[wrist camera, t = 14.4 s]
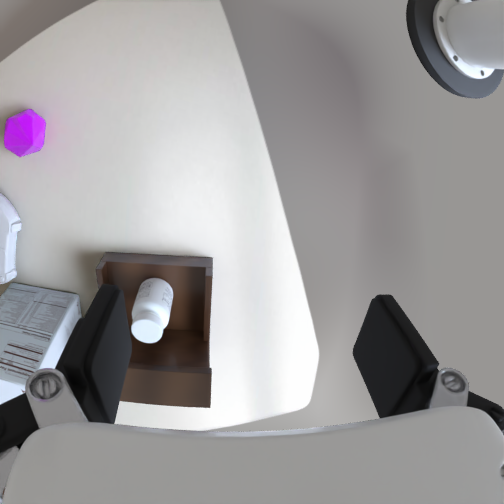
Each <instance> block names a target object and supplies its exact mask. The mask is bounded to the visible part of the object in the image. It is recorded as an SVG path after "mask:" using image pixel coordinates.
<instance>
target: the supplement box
mask: <svg viewBox="0 0 504 504" xmlns="http://www.w3.org/2000/svg"><path fill="white" fill-rule="evenodd" d="M81 317H82V314H81V308H80V302H79V296H78V294H73V293H67V292H61V291H55V290H49V289H44V288H39V287H33V286H28V285H23V284H17V283H11V284H10V285H9V287H8V288H7V289H6V290H5V292H4V293H3V294H2V295H1V296H0V404H2V403H4V402H6V401H8V400H11V399H13V398H15V397H17V396H19V395H21V394H23V393H25V392H26V390H25V385H26V381H27V379H28V378H29V376H30V375H31V374H32V373H33V372H35V371H37V370H39V369H43V368H53V369H55V367H56V365H57V362H58V360H59V358H60V356H61V354H62V352H63V349H64V347H65V345H66V343H67V341H68V339H69V337H70V335H71V333H72V331H73V329H74V327H75V325H76V323H77V321H78V320H79V318H81Z"/></svg>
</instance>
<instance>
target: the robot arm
mask: <svg viewBox="0 0 504 504" xmlns="http://www.w3.org/2000/svg"><path fill="white" fill-rule="evenodd" d="M433 25H434V31H435V35H436V38H437V41H438V44H439V46H440V48H441V50H442V52H443V54H444V55H445V57H446V58H447V60H448V61H449V62H450V64H451V65H452V66H453V67H454V68H455V69H456V70H457V71H458V72H460V73H461V74H463V75H464V76H467V77H469V78H474V79H483V78H486V77H488V76H489V75H491V74H492V72H493V71H494V69H504V0H477V1H471V0H439V1H438V2H437V4H436V6H435V9H434V12H433ZM131 353H132V342H131V337H130V331H129V325H128V319H127V313H126V306H125V300H124V293H123V290H121V289H119V288H118V286H117V285H109V284H102V285H101V287H100V289H99V290H98V292H97V294H96V296H95V298H94V300H93V302H92V304H91V306H90V308H89V310H88V312H87V314H86V316H85V318H82V317H81V318H79V320H78V321H77V323H76V325H75V327H74V329H73V331H72V333H71V335H70V337H69V339H68V341H67V343H66V345H65V347H64V349H63V352H62V354H61V356H60V358H59V360H58V362H57V365H56V367H55V369H53V368H43V369H39V370H37V371H35V372H33V373H32V374H31V375H30V376H29V378H28V379H27V381H26V385H25V390H26V392H25V393H23V394H21V395H19V396H17V397H15V398H13V399H11V400H8V401H6V402H4V403H2V404H0V504H504V409H502V407H501V406H499V405H498V404H496V403H493V402H491V401H489V400H487V399H485V398H483V397H480V396H478V395H476V394H474V393H472V392H470V391H469V383H468V381H467V379H466V377H465V376H464V375H463V374H462V373H461V372H459V371H457V370H456V369H453V368H444V369H441V370H440V371H439V370H438V369H437V367H438V365H439V363H438V361H437V360H436V358H435V357H434V355H433V354H432V352H431V351H430V349H429V348H428V346H427V345H426V343H425V342H424V340H423V339H422V337H421V336H420V334H419V333H418V331H417V330H416V329H415V327H414V326H413V324H412V323H411V321H410V320H409V319H408V317H407V316H406V314H405V313H404V311H403V310H402V309H401V307H400V306H399V305H398V303H397V302H396V300H395V299H394V298H393V296H392V295H377V296H376V297H375V298H374V299H372V301H371V303H370V306H369V309H368V312H367V314H366V317H365V319H364V322H363V325H362V327H361V330H360V333H359V335H358V338H357V340H356V343H355V345H354V348H353V356H354V359H355V361H356V363H357V366H358V368H359V370H360V372H361V375H362V377H363V379H364V382H365V384H366V386H367V389H368V391H369V393H370V396H371V398H372V400H373V403H374V405H375V407H376V410H377V412H378V415H379V417H380V419H375V420H368V421H363V422H356V423H349V424H342V425H333V426H325V427H316V428H305V429H293V430H278V431H277V430H276V431H247V432H214V431H189V430H173V429H159V428H147V427H137V426H128V425H118V424H114V422H115V418H116V414H117V409H118V405H119V401H120V397H121V392H122V388H123V384H124V380H125V376H126V372H127V368H128V365H129V361H130V357H131ZM5 487H6V488H5ZM4 488H5V492H4V496H3V498H2V494H3V490H4Z"/></svg>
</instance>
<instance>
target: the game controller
mask: <svg viewBox="0 0 504 504" xmlns="http://www.w3.org/2000/svg"><path fill="white" fill-rule="evenodd" d="M21 225H22V223H21V222H20V217H19V215H18V213H17V211H16V210H15V208H14V206H13V205H12V204H11V202H10V201H9V200H8V199H7V198H6V197H5V196H4V195H3V194H1V193H0V284H4V283H6V282H8V281H10V280H11V279H12V278H14V277H16V274H17V271H16V268H15V254H16V241H17V231H20V230H21Z"/></svg>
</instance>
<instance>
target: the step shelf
mask: <svg viewBox="0 0 504 504" xmlns="http://www.w3.org/2000/svg"><path fill="white" fill-rule="evenodd" d="M96 275H97V282H98V288H99V289H100V287H101V285H102V284H109V285H117V286H118V288H119V289H121V290H123V293H124V300H125V306H126V313H127V319H128V325H129V331H130V337H131V342H132V353H131V357H130V361H129V365H128V368H127V372H126V376H125V380H124V384H123V388H122V392H121V397H120V401H125V402H134V403H143V404H154V405H166V406H181V407H203V408H210V404H211V376H212V369H211V368H210V363H209V338H210V315H211V295H212V276H213V258H206V257H187V256H168V255H149V254H131V253H114V252H106V253H105V255H104V256H103V258H102V260H101V261H100V263H99V265H98V266H97V268H96ZM150 278H159V279H162V280H164V281H166V282H167V283H168V284H169V285H170V286H171V288H172V290H173V300H172V306H171V312H170V318H169V322H168V324H167V326H166V327H165V328H164V329H163V333H162V337H161V338H160V340H158V341H157V342H154V343H144V342H141V341H139V340H138V339H136V338H135V337H134V335H133V334H132V331H131V326H132V322H133V319H132V309H133V306H134V303H135V300H136V297H137V294H138V291H139V288H140V286H141V284H142V283H143V282H144V281H145V280H147V279H150Z"/></svg>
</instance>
